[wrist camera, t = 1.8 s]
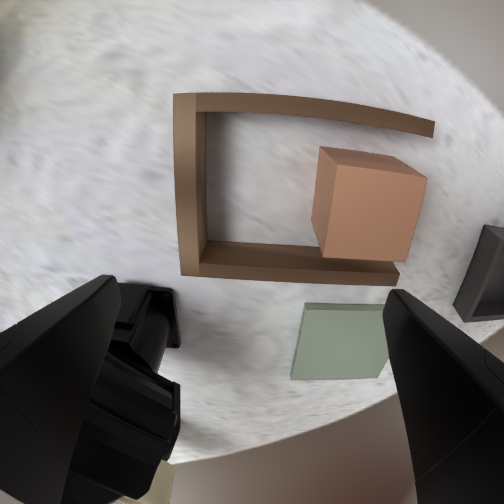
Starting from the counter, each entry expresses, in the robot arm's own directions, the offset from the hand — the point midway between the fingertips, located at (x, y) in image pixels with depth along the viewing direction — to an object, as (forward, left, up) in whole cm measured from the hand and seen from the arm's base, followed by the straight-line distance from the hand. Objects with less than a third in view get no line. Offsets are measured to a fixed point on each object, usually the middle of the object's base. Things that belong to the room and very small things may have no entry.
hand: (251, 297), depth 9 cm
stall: (0, -3, -12) cm, 12 cm away
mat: (-14, -9, -12) cm, 20 cm away
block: (0, -6, -12) cm, 14 cm away
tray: (-6, -23, -12) cm, 26 cm away
